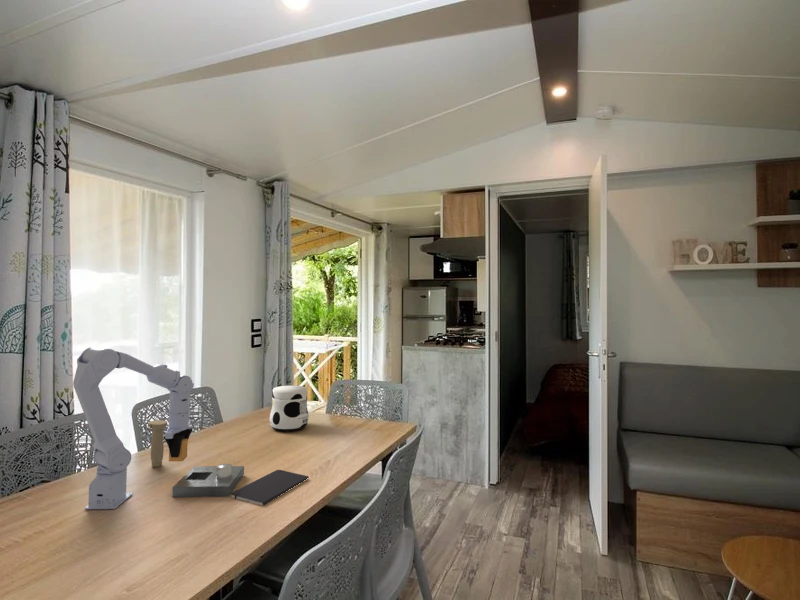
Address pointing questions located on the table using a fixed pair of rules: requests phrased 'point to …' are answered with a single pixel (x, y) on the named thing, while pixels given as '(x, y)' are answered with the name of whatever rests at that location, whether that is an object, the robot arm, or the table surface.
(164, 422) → the handle
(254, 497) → the notebook
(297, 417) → the milk container
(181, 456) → the orange rectangular block
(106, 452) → the robot arm
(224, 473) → the hub plate
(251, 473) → the table surface
